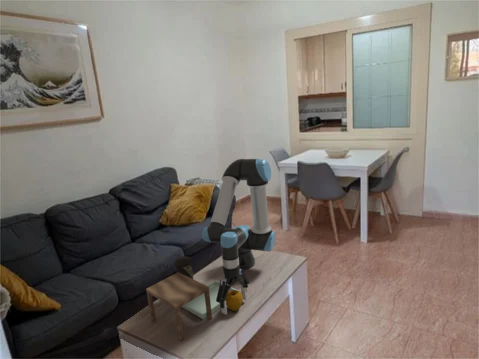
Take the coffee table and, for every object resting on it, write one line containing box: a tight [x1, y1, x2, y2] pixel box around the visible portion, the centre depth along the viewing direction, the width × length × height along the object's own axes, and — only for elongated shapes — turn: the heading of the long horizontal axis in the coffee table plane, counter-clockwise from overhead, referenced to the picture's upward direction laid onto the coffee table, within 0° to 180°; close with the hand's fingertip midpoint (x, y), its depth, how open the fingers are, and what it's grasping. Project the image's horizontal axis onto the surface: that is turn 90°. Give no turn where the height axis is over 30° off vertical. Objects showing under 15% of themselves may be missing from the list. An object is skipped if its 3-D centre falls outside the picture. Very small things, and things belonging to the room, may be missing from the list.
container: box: [173, 256, 194, 279], centre depth 171 cm, size 9×9×20 cm
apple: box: [225, 289, 244, 312], centre depth 158 cm, size 8×8×9 cm
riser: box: [145, 272, 213, 342], centre depth 151 cm, size 18×22×16 cm
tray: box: [181, 280, 239, 320], centre depth 165 cm, size 24×17×2 cm
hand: (234, 306), depth 158 cm, fingers open, 13 cm apart
